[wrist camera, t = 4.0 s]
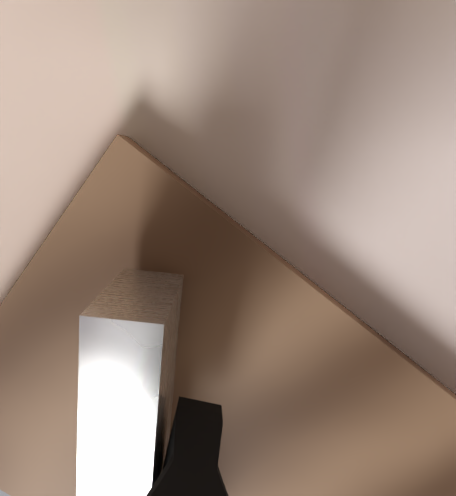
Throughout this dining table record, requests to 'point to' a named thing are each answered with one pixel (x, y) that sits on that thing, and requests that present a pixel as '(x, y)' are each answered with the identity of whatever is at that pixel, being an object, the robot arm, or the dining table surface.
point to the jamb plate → (217, 352)
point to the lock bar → (127, 383)
